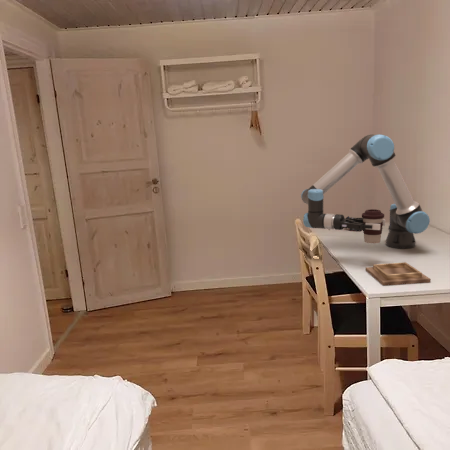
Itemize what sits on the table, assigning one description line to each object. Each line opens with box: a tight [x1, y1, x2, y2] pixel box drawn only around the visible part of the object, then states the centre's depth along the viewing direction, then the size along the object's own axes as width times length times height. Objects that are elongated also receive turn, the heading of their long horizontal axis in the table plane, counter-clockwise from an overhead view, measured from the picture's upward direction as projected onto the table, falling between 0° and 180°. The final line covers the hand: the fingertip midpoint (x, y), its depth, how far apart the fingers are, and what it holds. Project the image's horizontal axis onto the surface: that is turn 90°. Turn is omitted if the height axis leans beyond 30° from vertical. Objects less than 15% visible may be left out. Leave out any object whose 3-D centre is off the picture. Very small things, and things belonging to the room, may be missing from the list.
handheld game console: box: [344, 215, 363, 232], centre depth 278 cm, size 12×11×7 cm
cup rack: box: [365, 261, 432, 287], centre depth 191 cm, size 20×20×4 cm
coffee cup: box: [361, 208, 385, 244], centre depth 204 cm, size 10×10×15 cm
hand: (382, 224), depth 202 cm, fingers closed on coffee cup, 9 cm apart
